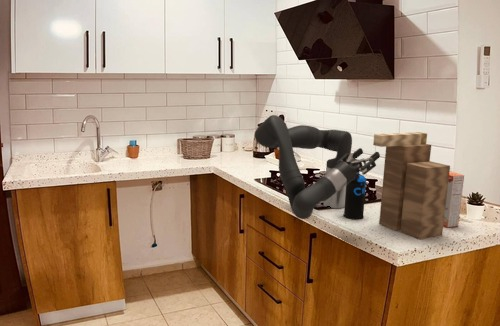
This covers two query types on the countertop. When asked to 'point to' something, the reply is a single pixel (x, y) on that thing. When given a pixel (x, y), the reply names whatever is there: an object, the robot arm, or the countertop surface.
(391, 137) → the maple bar
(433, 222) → the brown stepped wooden block
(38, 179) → the countertop surface
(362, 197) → the aerosol can
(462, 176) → the cracker box
